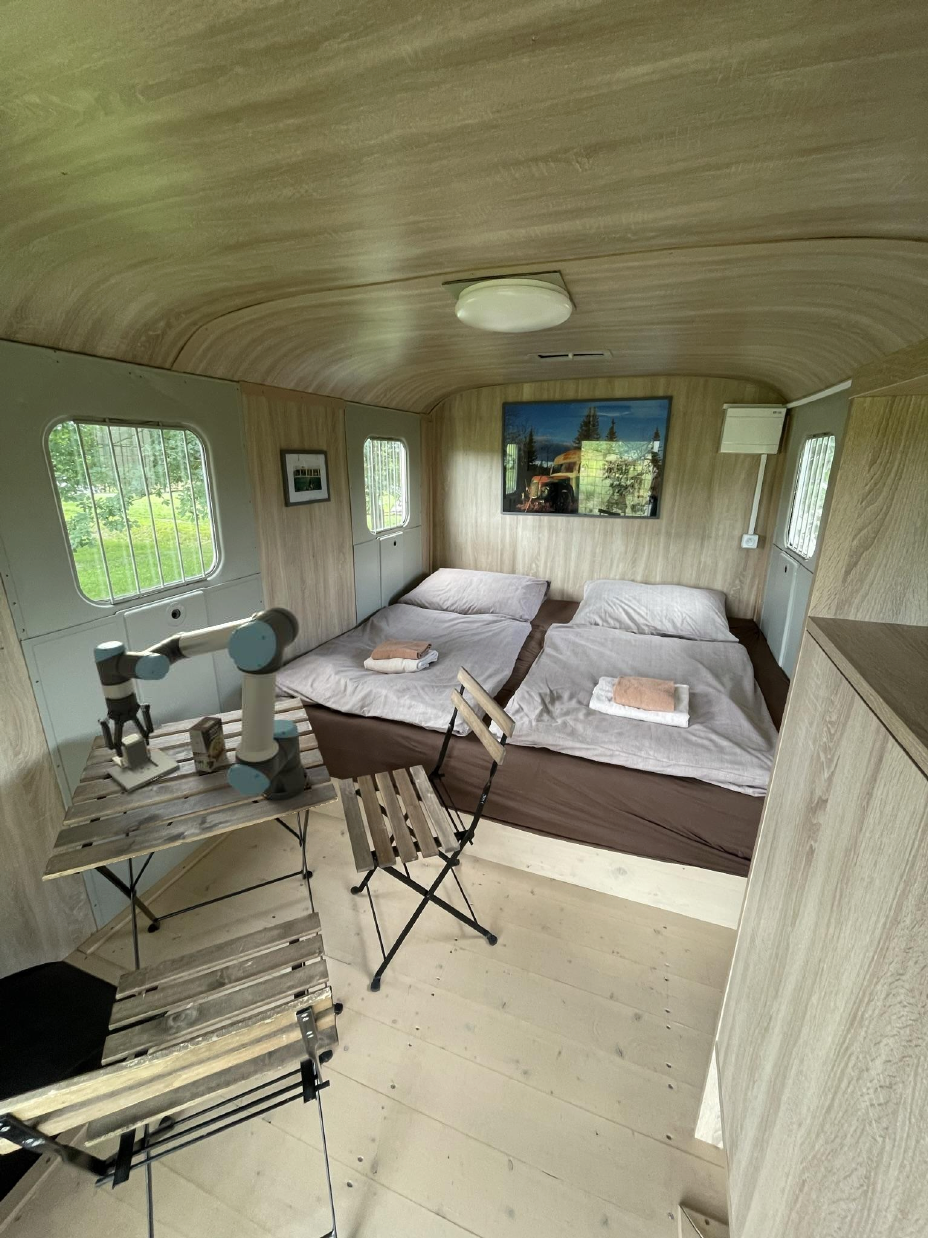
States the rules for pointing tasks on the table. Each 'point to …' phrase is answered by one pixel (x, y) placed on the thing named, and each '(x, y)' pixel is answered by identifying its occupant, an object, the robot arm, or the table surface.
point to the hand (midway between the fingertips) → (136, 759)
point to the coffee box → (207, 743)
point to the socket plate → (143, 770)
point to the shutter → (119, 760)
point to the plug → (135, 749)
